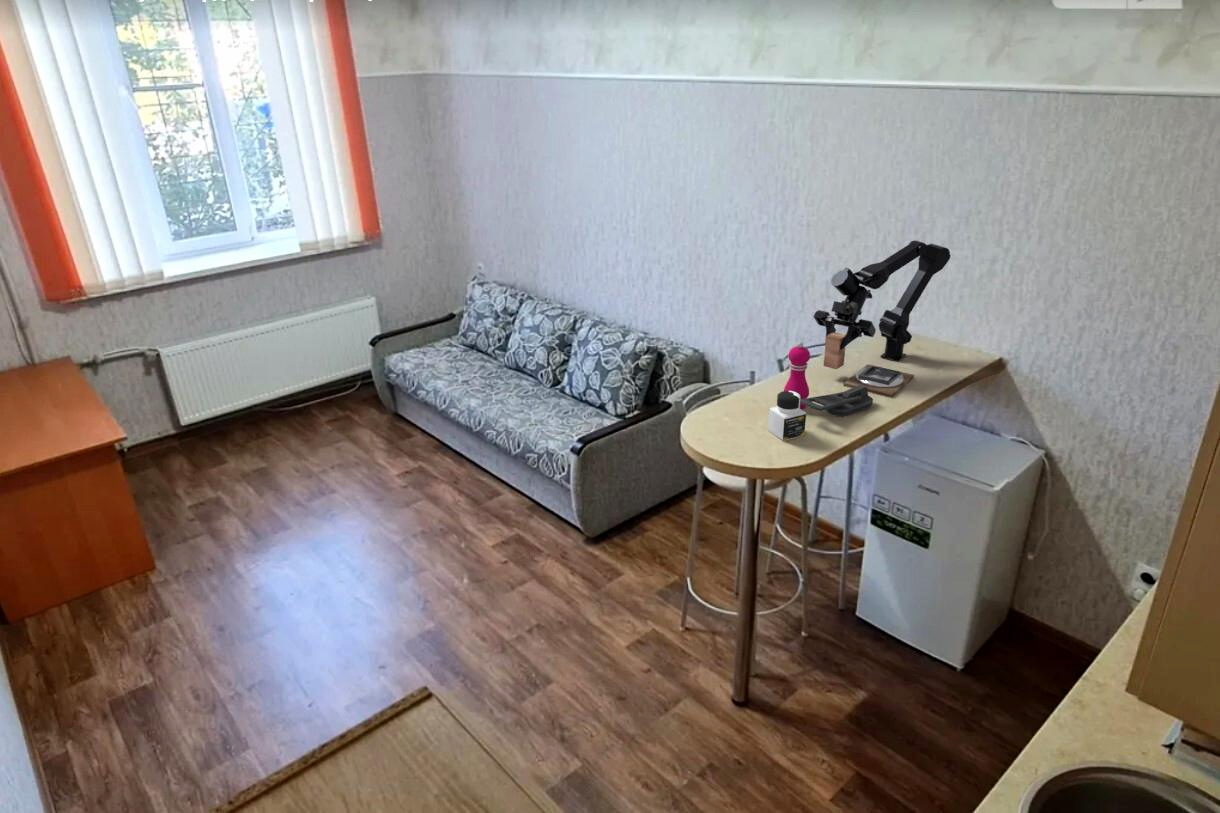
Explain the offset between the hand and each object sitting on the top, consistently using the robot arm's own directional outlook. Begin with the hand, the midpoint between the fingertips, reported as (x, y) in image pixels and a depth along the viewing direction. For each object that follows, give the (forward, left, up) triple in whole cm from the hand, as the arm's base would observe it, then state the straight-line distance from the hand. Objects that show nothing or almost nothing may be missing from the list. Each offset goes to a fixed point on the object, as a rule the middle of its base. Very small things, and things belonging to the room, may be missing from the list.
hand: (833, 347), depth 239 cm
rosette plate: (-6, +13, -11) cm, 18 cm away
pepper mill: (+24, 0, -11) cm, 26 cm away
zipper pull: (+21, +12, -11) cm, 26 cm away
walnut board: (-6, +13, -11) cm, 18 cm away
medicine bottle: (+41, +6, -11) cm, 42 cm away
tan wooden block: (-1, 0, -7) cm, 7 cm away
